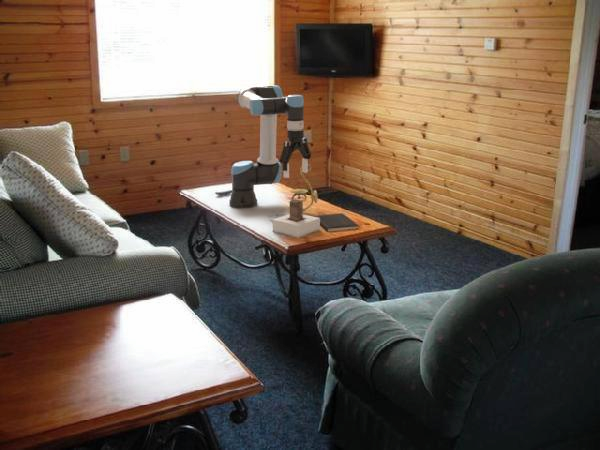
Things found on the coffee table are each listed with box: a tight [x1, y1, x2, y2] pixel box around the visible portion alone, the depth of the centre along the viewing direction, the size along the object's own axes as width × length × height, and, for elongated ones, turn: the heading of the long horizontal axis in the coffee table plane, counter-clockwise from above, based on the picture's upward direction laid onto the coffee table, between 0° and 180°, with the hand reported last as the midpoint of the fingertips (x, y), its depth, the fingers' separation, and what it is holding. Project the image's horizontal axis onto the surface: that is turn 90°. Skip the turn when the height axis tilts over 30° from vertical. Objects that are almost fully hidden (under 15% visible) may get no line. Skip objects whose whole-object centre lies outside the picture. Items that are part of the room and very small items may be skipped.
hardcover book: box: [312, 213, 359, 233], centre depth 346 cm, size 16×23×2 cm
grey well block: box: [272, 213, 321, 239], centre depth 334 cm, size 16×16×6 cm
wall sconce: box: [289, 163, 318, 211], centre depth 368 cm, size 14×10×25 cm
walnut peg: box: [289, 198, 304, 222], centre depth 333 cm, size 4×4×14 cm
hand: (295, 174), depth 328 cm, fingers open, 13 cm apart
